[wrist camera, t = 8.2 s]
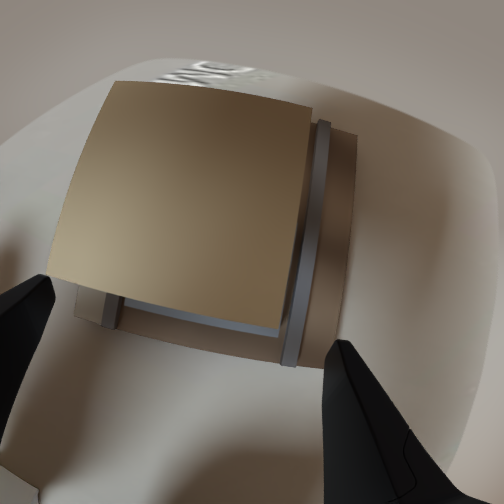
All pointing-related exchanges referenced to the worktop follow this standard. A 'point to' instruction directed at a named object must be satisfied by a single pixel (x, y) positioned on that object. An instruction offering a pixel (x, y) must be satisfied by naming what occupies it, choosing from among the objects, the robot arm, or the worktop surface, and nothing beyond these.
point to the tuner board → (300, 278)
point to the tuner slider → (187, 204)
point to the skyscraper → (16, 489)
